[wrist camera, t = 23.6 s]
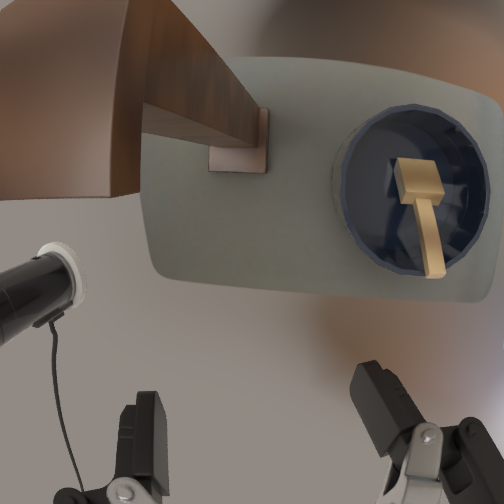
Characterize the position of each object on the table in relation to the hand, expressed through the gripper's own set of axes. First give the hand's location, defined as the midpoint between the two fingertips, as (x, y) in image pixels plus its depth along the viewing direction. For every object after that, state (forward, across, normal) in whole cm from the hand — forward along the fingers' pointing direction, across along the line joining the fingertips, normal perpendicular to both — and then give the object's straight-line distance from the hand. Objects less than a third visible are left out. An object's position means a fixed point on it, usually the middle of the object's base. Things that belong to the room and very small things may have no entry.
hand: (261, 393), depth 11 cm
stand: (+31, -4, -6) cm, 32 cm away
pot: (+24, -22, -2) cm, 33 cm away
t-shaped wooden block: (+18, -22, 0) cm, 29 cm away
